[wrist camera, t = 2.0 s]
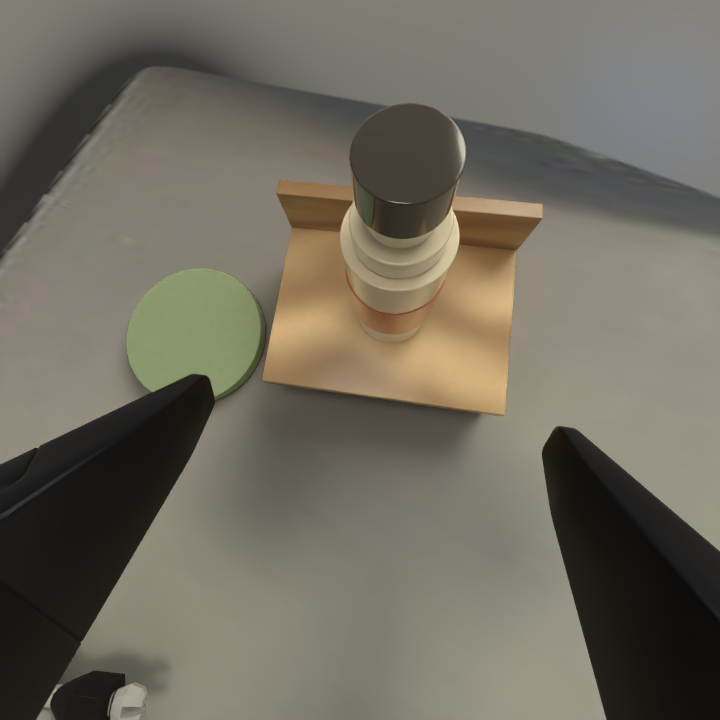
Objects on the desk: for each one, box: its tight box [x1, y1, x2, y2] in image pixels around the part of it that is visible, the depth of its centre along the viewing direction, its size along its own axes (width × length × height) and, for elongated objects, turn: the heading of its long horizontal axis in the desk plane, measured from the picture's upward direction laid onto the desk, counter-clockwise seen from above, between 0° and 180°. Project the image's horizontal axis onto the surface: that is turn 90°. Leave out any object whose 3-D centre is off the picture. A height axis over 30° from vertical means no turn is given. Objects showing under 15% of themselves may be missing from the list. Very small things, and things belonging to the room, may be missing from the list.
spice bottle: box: [340, 103, 466, 343], centre depth 13 cm, size 4×4×11 cm
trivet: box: [126, 269, 266, 400], centre depth 22 cm, size 9×9×1 cm
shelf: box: [262, 180, 543, 416], centre depth 19 cm, size 10×13×6 cm
